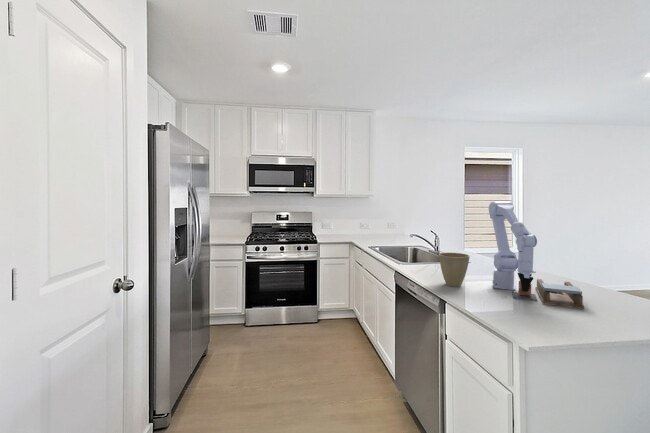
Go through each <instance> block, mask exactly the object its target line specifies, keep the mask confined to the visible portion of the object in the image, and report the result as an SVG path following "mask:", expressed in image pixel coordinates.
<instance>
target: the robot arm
mask: <svg viewBox="0 0 650 433" xmlns="http://www.w3.org/2000/svg"><path fill="white" fill-rule="evenodd" d="M514 209H515V206H514V204H513V203H512V201H509V200H508V201H491V202H490V203H489V206H488V213H489V216H490V219H491V220H492V225H493V226H492V227H493V230H494V235H495V239H496V240H495V241H496V246H497V252H496V253H495V254H494V255H493V266H494V267H495V268H493V272H492V274H493V275H492V276H493V279H492V287H493V288H494V289H501V290H509V291H515V290H516V286H515V272H516V271H517V276H518V278H519V281H521V286H522V291H524V292H528V290H529V287H530V284H531V285H532V281H533V280H534V277H533V276H532V275H533V274H536V273H537V270H533V269H534V249H535V248H534V247H536V246H537V244H538V240H537V236H536V235H535V234H532V233H531V232H529V230H528V229H527V228H526V226H525V224H524V223H523V222H521V221H519V219H518V218H517V215H516V214H515V211H514ZM505 220H506V221H507V222H508V223H509V224H510V225H511V226H510V230H511V232H512V234H513V235H514V237H515V243H516V247H517V248H516V249H517V251H518V256H517V255H516V253H515V252H514V251H512V250H511V249H510V245H509V238H508V234H507V229H506V224H505Z"/></svg>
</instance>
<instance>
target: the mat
mask: <svg viewBox="0 0 650 433" xmlns="http://www.w3.org/2000/svg"><path fill="white" fill-rule="evenodd" d="M511 293H512V298H513V299H514V300H515V299H517V300H525V301H533V302H534V301H535V302H538V298H537V296H536V294H535V293H531V295H522V294H519V291H512V292H511Z"/></svg>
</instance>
